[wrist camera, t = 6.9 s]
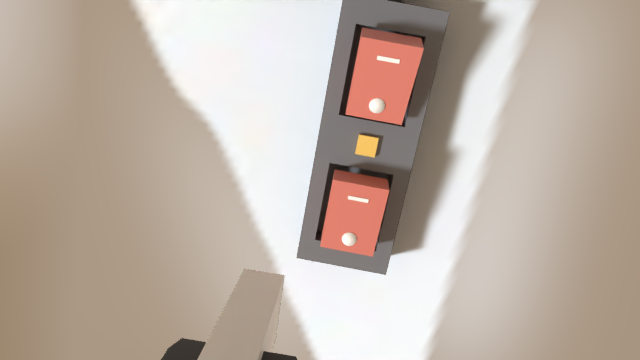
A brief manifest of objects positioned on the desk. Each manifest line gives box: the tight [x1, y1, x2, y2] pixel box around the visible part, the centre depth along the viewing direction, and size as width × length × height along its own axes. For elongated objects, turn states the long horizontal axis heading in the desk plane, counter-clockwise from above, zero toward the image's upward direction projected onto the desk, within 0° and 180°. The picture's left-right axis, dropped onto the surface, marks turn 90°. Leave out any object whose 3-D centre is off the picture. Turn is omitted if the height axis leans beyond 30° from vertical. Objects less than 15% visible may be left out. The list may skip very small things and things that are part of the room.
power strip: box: [297, 0, 450, 275], centre depth 35 cm, size 26×8×4 cm, turn 170°
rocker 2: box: [320, 169, 390, 257], centre depth 35 cm, size 6×4×2 cm
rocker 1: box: [345, 27, 424, 125], centre depth 32 cm, size 6×4×2 cm
